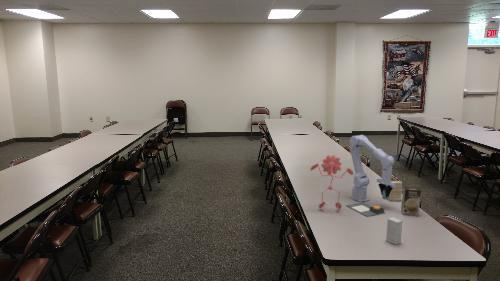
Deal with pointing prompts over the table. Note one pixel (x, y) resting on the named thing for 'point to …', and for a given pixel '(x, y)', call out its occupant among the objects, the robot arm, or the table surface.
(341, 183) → the table surface
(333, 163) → the figurine
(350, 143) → the robot arm
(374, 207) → the button
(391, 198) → the supplement box
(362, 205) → the slate board
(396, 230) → the skincare box
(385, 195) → the teal bottle
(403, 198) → the coffee box
